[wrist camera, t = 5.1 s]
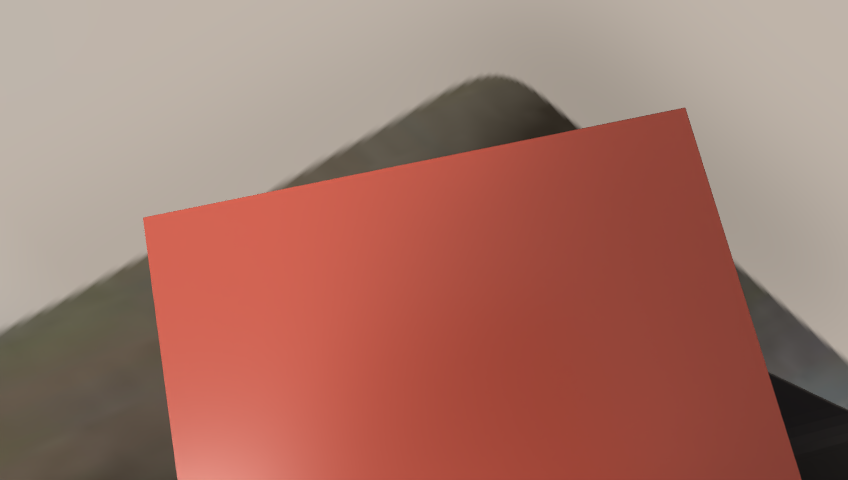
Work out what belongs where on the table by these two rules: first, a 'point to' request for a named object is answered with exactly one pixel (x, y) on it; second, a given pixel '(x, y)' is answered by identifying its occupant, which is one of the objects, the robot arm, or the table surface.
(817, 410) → the robot arm
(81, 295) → the table surface
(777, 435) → the tall red square pillar
